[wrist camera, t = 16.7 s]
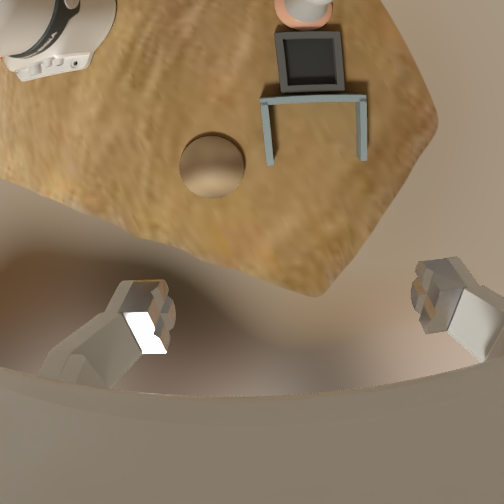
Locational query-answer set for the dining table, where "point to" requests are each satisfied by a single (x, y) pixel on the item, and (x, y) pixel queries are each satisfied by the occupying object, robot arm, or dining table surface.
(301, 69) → the hole frame
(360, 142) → the cubby bay
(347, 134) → the dining table surface
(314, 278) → the dining table surface
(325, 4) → the salt shaker
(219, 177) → the cork trivet
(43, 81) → the dining table surface
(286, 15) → the coaster
